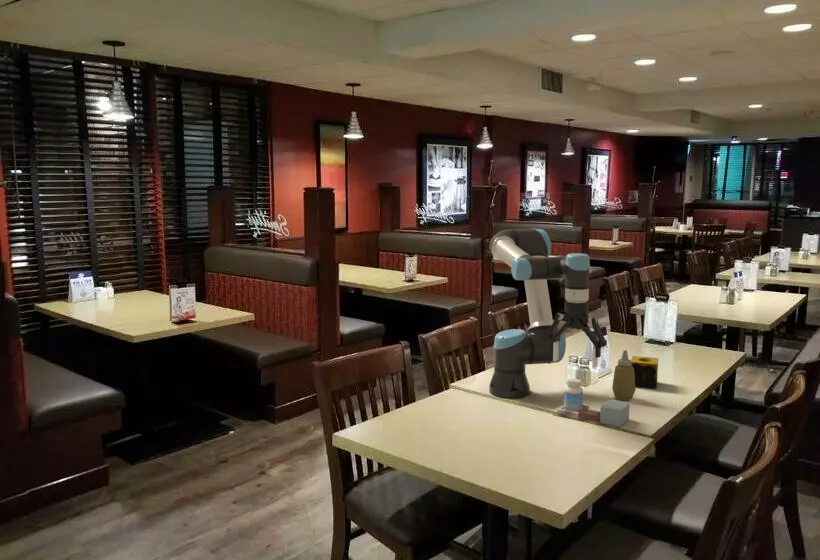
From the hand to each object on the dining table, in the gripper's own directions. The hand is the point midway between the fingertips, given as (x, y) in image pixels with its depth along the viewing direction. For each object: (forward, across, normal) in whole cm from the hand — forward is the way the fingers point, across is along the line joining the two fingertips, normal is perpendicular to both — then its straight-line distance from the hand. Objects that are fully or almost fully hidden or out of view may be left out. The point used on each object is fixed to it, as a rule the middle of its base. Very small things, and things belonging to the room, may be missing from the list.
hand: (574, 363), depth 217 cm
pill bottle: (+17, 0, 0) cm, 17 cm away
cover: (+17, +14, 0) cm, 22 cm away
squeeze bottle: (+19, +8, +28) cm, 35 cm away
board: (+19, +6, 0) cm, 20 cm away
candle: (+19, +9, +49) cm, 53 cm away
